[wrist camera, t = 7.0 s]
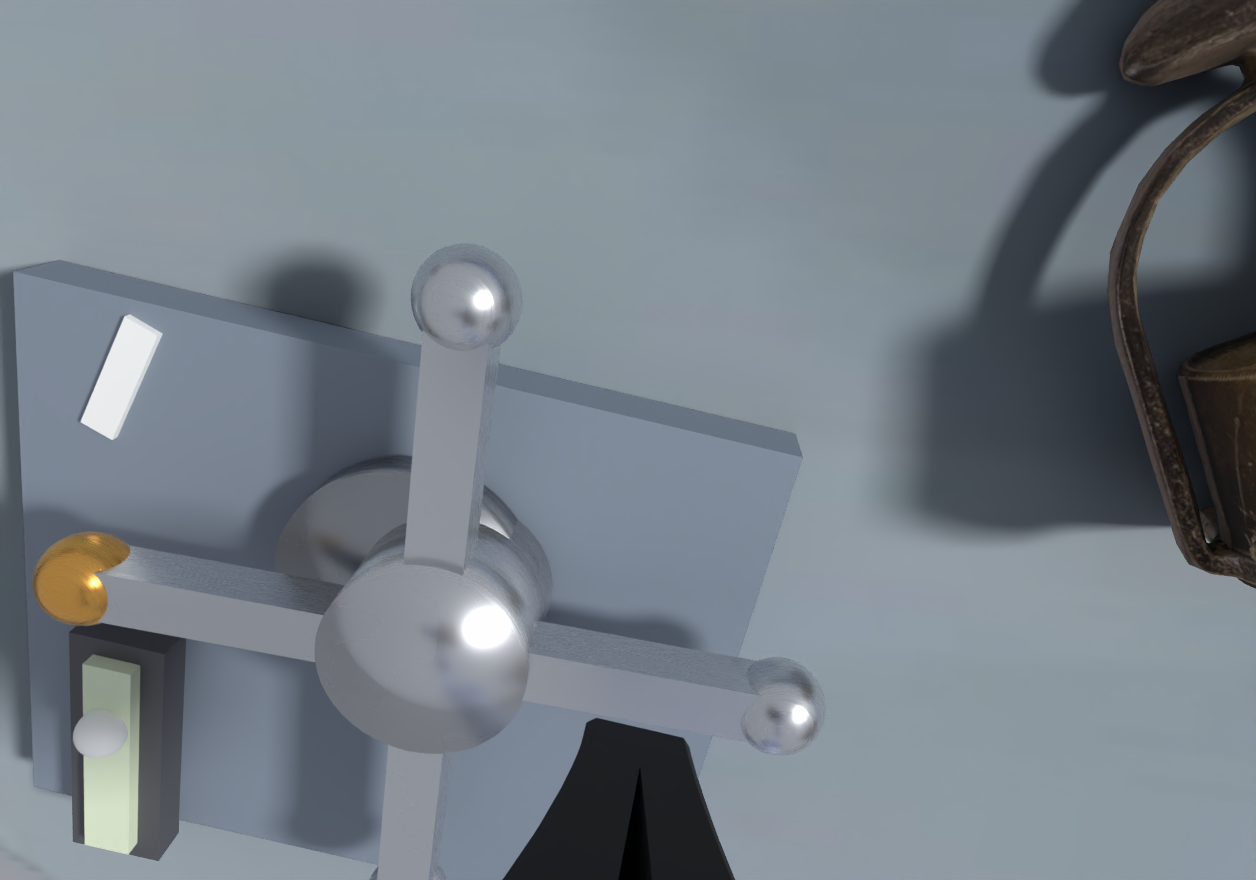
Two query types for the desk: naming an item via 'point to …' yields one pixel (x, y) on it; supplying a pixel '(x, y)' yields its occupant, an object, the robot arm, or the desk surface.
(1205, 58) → the brown looped piece
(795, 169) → the desk surface
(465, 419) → the capstan
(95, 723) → the grey panel with crank
